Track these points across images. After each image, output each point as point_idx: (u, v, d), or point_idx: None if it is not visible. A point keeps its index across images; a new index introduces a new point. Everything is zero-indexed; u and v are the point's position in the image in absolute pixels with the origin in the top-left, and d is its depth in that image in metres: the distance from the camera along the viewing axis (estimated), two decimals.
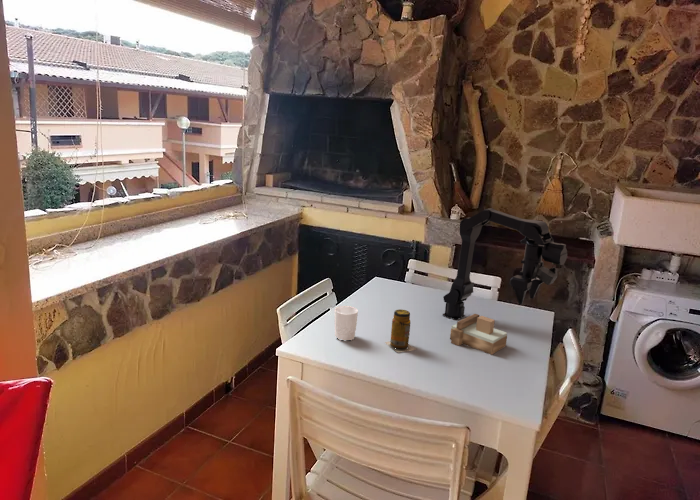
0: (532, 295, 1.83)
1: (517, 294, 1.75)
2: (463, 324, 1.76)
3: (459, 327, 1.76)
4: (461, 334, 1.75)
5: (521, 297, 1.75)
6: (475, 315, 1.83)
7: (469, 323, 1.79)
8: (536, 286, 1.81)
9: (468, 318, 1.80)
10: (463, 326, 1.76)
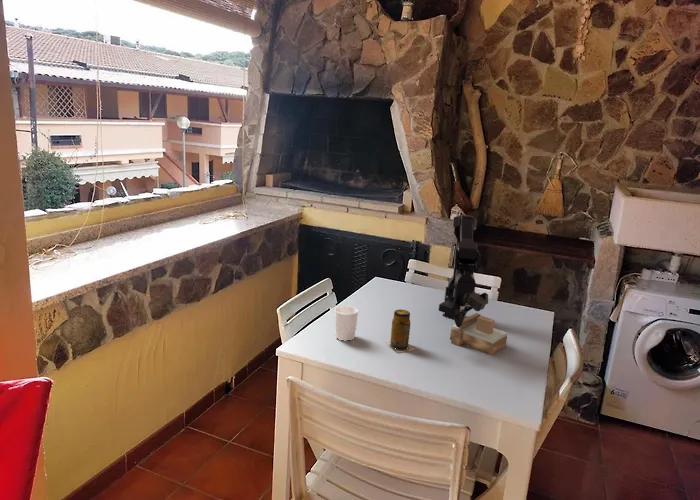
0: None
1: (454, 317, 1.75)
2: (465, 323, 1.77)
3: (460, 327, 1.77)
4: (461, 334, 1.75)
5: (458, 320, 1.74)
6: (476, 314, 1.83)
7: (470, 322, 1.80)
8: None
9: (469, 317, 1.80)
10: (464, 325, 1.77)
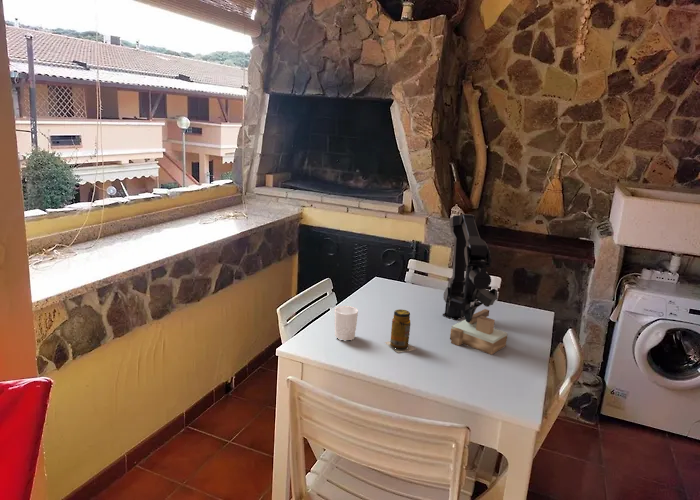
0: None
1: (464, 312, 1.79)
2: (474, 319, 1.81)
3: (469, 322, 1.81)
4: (461, 334, 1.75)
5: (468, 315, 1.79)
6: (485, 310, 1.88)
7: None
8: None
9: (478, 313, 1.85)
10: (474, 321, 1.82)
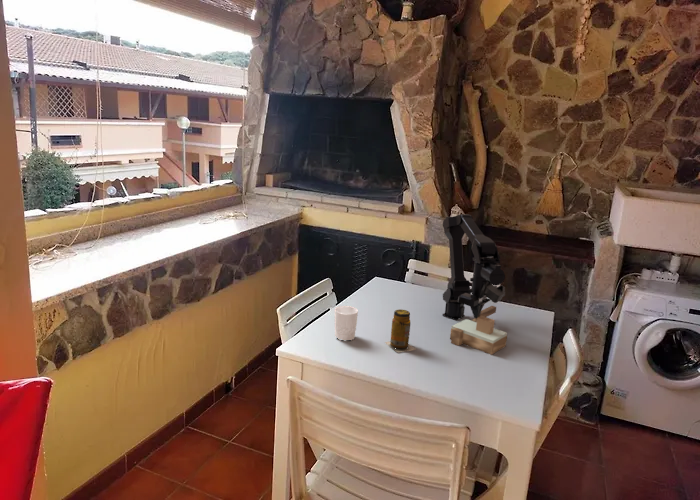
0: None
1: (472, 308, 1.83)
2: (482, 315, 1.85)
3: None
4: (461, 334, 1.75)
5: (476, 311, 1.82)
6: (492, 307, 1.92)
7: (487, 314, 1.88)
8: None
9: (486, 310, 1.89)
10: None
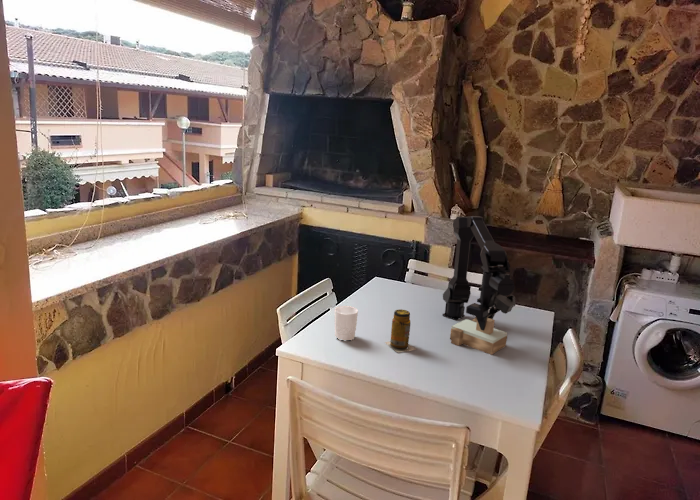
0: None
1: (479, 320, 1.74)
2: None
3: None
4: (461, 334, 1.75)
5: (483, 323, 1.73)
6: None
7: None
8: (491, 315, 1.76)
9: None
10: None
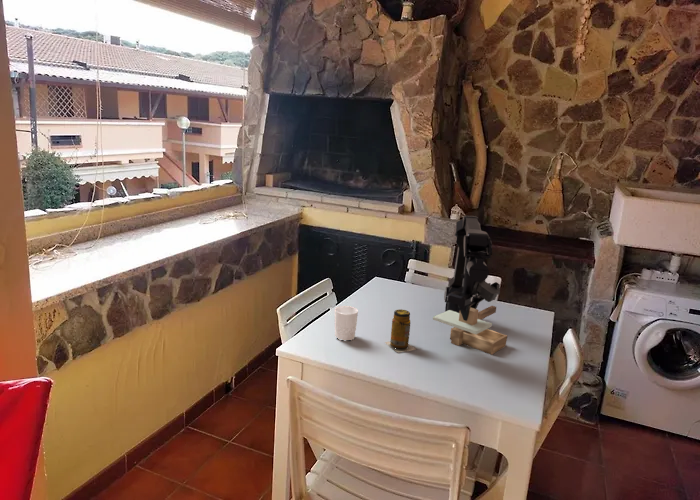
0: None
1: (461, 309, 1.63)
2: (482, 315, 1.85)
3: None
4: (461, 334, 1.75)
5: (465, 313, 1.62)
6: (492, 307, 1.92)
7: (487, 314, 1.88)
8: (474, 305, 1.64)
9: (486, 310, 1.89)
10: (481, 317, 1.85)
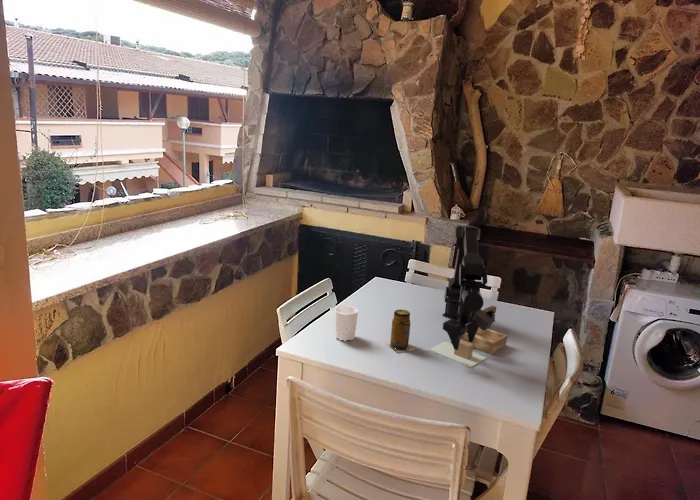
0: (470, 338, 1.70)
1: (452, 339, 1.63)
2: None
3: None
4: None
5: (456, 342, 1.62)
6: (492, 307, 1.92)
7: None
8: (475, 329, 1.69)
9: (486, 310, 1.89)
10: None
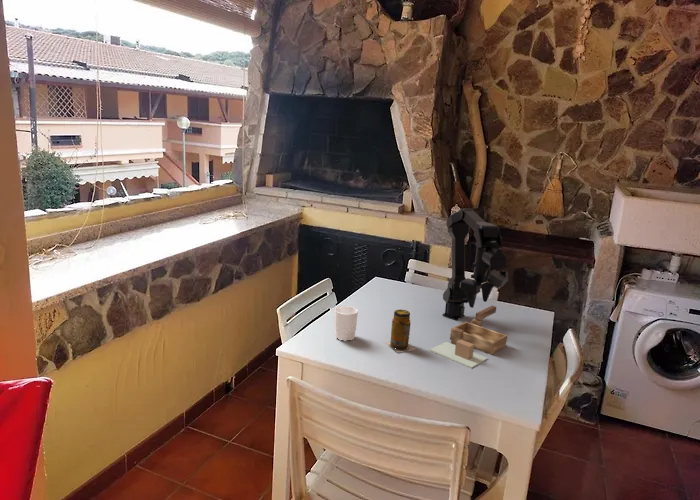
0: (484, 298, 1.83)
1: (468, 297, 1.75)
2: (482, 315, 1.85)
3: (477, 318, 1.85)
4: (461, 334, 1.75)
5: (472, 300, 1.75)
6: (492, 307, 1.92)
7: (487, 314, 1.88)
8: (489, 289, 1.81)
9: (486, 310, 1.89)
10: (481, 317, 1.85)
